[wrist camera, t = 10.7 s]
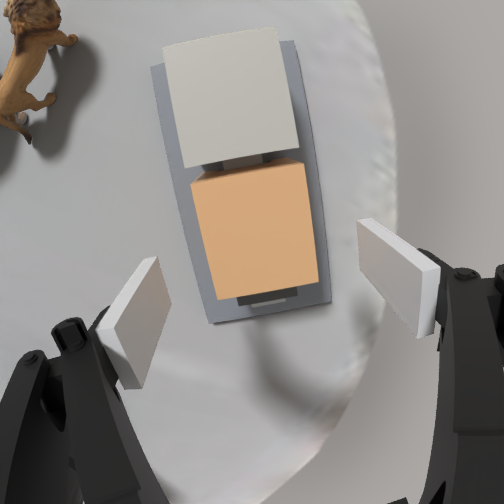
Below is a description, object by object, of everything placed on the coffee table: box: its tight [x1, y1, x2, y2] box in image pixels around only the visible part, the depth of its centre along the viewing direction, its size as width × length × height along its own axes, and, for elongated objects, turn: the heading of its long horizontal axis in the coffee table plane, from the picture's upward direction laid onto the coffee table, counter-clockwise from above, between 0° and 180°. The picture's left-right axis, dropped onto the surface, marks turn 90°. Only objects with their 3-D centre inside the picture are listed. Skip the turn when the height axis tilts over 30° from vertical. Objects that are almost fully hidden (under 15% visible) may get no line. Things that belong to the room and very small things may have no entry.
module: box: [190, 157, 319, 300], centre depth 24 cm, size 7×8×7 cm
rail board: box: [151, 26, 331, 323], centre depth 23 cm, size 12×24×8 cm, turn 10°
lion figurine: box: [0, 0, 77, 144], centre depth 18 cm, size 15×5×9 cm, turn 166°
